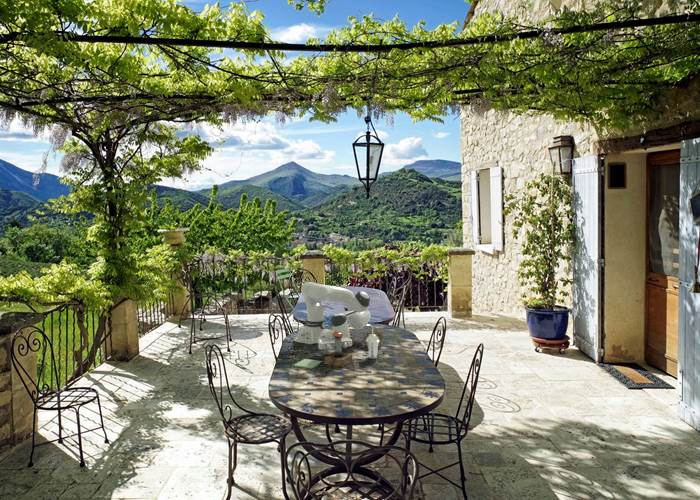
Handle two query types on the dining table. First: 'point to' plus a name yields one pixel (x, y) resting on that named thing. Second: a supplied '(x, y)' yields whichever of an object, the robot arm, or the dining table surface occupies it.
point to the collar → (338, 359)
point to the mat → (307, 363)
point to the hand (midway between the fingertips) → (338, 347)
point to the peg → (338, 343)
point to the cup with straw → (372, 344)
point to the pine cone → (379, 335)
